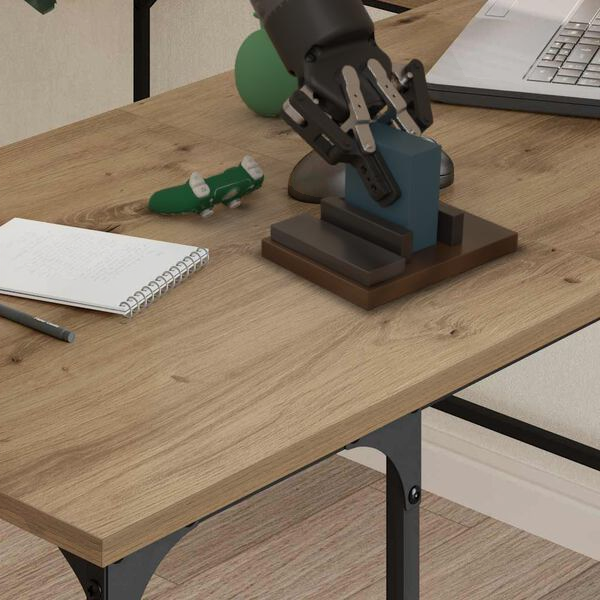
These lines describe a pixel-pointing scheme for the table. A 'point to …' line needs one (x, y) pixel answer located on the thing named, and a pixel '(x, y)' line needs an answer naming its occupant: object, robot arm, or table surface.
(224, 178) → the gaming controller
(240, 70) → the alien toy
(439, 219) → the brown wooden stand
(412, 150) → the back pad
